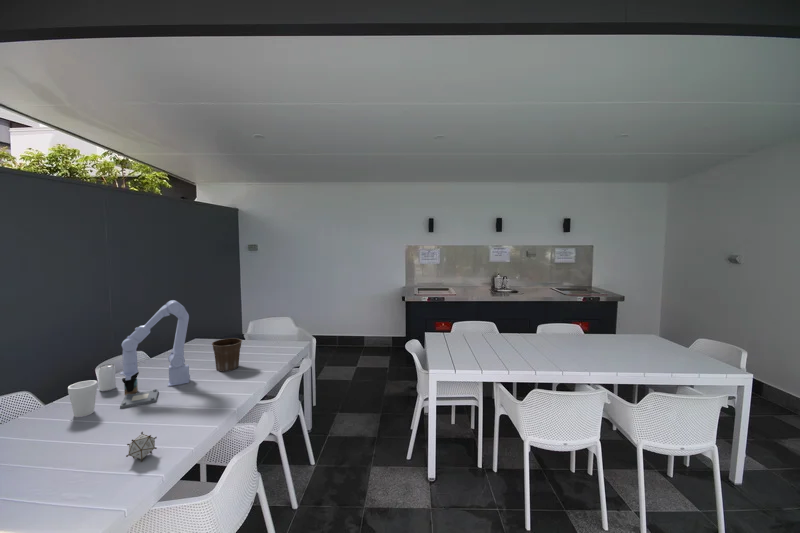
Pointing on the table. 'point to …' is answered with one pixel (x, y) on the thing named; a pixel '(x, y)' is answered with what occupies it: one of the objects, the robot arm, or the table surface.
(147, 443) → the game die
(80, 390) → the foam cup
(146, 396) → the plate
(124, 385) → the teal and brown block
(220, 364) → the plant pot
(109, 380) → the grey cylinder
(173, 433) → the table surface
